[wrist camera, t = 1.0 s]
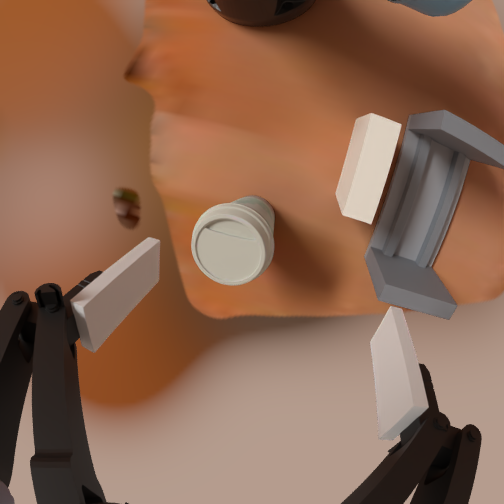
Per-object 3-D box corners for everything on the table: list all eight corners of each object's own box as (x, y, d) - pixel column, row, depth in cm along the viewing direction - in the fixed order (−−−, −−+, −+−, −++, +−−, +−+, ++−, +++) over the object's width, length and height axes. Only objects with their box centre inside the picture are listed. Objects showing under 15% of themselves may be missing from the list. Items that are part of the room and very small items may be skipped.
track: (409, 115, 28) (444, 109, 18) (470, 145, 27) (516, 154, 17) (364, 256, 37) (377, 300, 27) (423, 275, 36) (449, 319, 26)
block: (356, 118, 30) (371, 112, 21) (378, 126, 30) (401, 124, 21) (335, 193, 35) (342, 214, 26) (357, 200, 34) (371, 224, 25)
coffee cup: (298, 217, 37) (290, 254, 26) (254, 257, 40) (231, 304, 30) (251, 171, 36) (222, 188, 25) (210, 215, 39) (171, 249, 29)
